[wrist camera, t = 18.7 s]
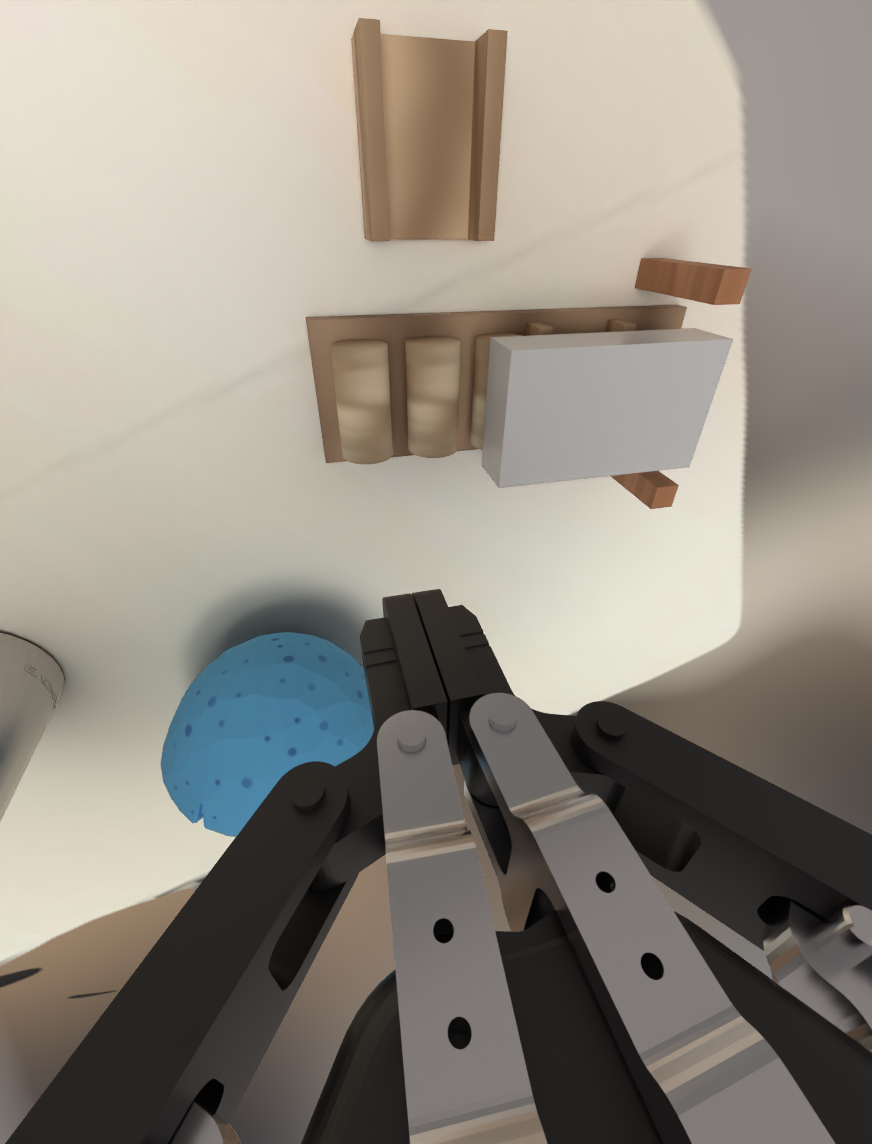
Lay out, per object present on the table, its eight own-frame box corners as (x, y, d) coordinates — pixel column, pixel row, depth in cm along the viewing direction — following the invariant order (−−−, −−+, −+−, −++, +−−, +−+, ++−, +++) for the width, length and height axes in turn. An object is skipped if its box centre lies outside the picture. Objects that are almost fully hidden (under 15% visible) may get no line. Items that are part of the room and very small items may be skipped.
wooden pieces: (329, 491, 32) (338, 548, 27) (265, 32, 20) (256, -37, 14) (634, 460, 37) (694, 503, 31) (740, 68, 24) (870, 26, 19)
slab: (481, 465, 29) (498, 487, 26) (490, 337, 25) (511, 350, 22) (658, 448, 31) (689, 467, 29) (694, 328, 27) (733, 339, 25)
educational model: (206, 751, 44) (177, 943, 33) (164, 590, 34) (98, 790, 22) (375, 729, 49) (402, 892, 37) (385, 579, 38) (428, 743, 26)
